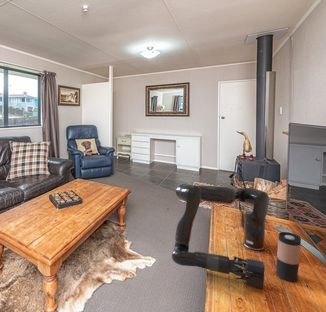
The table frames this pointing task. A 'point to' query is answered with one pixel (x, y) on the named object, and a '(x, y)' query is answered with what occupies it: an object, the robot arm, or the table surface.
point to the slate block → (255, 267)
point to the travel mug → (288, 256)
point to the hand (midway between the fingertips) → (262, 272)
